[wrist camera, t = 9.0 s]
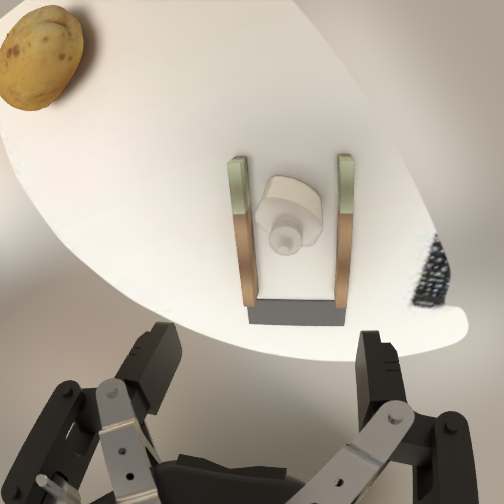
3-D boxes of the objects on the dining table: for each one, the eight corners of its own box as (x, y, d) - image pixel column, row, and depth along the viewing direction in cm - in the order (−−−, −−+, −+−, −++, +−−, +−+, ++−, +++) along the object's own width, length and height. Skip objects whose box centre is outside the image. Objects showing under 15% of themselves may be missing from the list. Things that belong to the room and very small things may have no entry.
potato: (25, 83, 30) (-32, 94, 22) (69, 0, 24) (10, -8, 16) (68, 121, 32) (8, 139, 24) (119, 32, 27) (60, 24, 18)
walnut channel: (234, 157, 32) (227, 163, 29) (350, 154, 29) (354, 160, 27) (248, 291, 39) (243, 306, 36) (344, 292, 37) (346, 308, 34)
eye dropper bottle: (294, 160, 31) (285, 200, 20) (326, 205, 32) (333, 265, 22) (259, 185, 33) (233, 235, 22) (292, 227, 34) (282, 293, 24)
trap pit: (246, 298, 40) (246, 300, 39) (346, 300, 37) (346, 301, 37) (249, 322, 41) (249, 323, 41) (343, 324, 39) (344, 326, 39)
